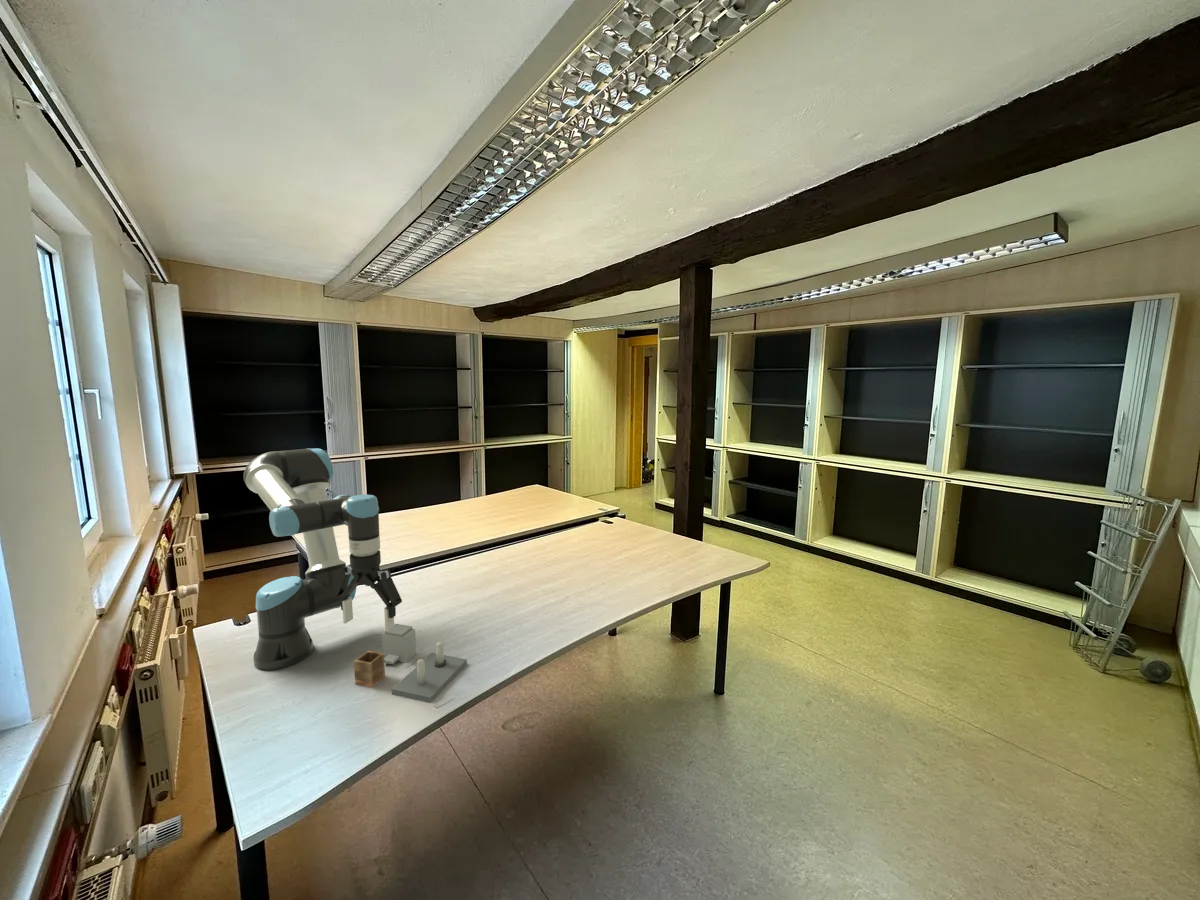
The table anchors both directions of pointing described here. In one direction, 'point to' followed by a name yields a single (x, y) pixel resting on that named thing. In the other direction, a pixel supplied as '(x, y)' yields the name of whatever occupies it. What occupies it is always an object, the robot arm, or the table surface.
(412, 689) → the pinboard
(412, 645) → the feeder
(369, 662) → the sleeve
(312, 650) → the robot arm
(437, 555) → the table surface
